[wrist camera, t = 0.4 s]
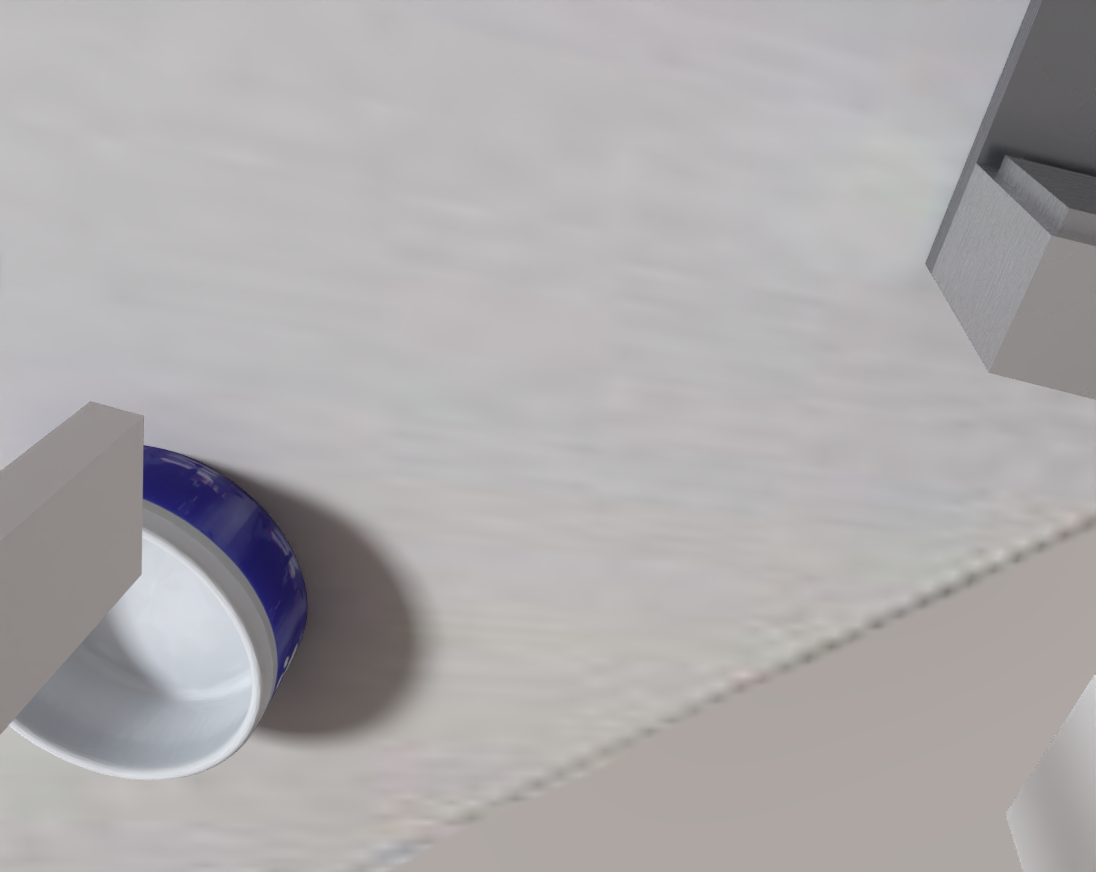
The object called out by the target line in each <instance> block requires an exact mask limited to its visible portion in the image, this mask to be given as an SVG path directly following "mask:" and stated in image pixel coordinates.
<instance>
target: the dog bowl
mask: <svg viewBox="0 0 1096 872" xmlns="http://www.w3.org/2000/svg"><path fill="white" fill-rule="evenodd" d="M306 618H307V597H306V589H305V584H304V580H303V576H302V573H301V570H300V567H299V564H298V562H297V559H296V557H295V555H294V552H293V550H292V548H291V547H290V545H289V543H288V541H287V540H286V538H285V536H284V535H283V533H282V532H281V530H280V529H279V527H278V526H277V525H276V523H275V522H274V521H273V520H272V518H271V517H270V516H269V514H268V513H267V512H266V511H265V510H264V509H263V508H262V507H261V506H260V505H259V504H258V503H257V502H256V501H255V500H254V499H253V498H252V497H251V496H250V495H249V494H247V493H246V492H245V491H244V490H243V489H241V488H240V487H239V486H238V485H236V484H235V483H234V482H232V481H231V480H229V479H228V478H226V477H225V476H223V475H222V474H220V473H219V472H217V471H215V470H214V469H212V468H210V467H208V466H206V465H204V464H202V463H200V462H198V461H196V460H193V459H191V458H188V457H186V456H183V455H181V454H178V453H174V452H171V451H168V450H164V449H160V448H155V447H150V446H144V445H143V508H142V575H141V576H140V577H139V578H138V579H137V580H136V581H135V582H134V584H133V585H132V586H131V587H130V588H129V589H128V590H127V592H126V593H125V594H124V595H123V596H122V597H121V598H120V600H119V601H118V602H117V603H116V604H115V605H114V606H113V607H112V609H111V610H110V611H109V612H108V613H107V614H106V615H105V617H104V618H103V619H102V620H101V621H100V622H99V623H98V624H97V626H96V627H95V628H94V629H93V630H92V631H91V632H90V634H89V635H88V636H87V637H86V638H85V639H84V640H83V641H82V643H81V644H80V645H79V646H78V647H77V648H76V649H75V651H74V652H73V653H72V654H71V655H70V656H69V657H68V658H67V660H66V661H65V662H64V663H63V664H62V665H61V666H60V668H59V669H58V670H57V671H56V672H55V673H54V674H53V675H52V677H51V678H50V679H49V680H48V681H47V682H46V683H45V685H44V686H43V687H42V688H41V689H40V690H39V691H38V692H37V694H36V695H35V696H34V697H33V698H32V699H31V700H30V702H29V703H28V704H27V705H26V706H25V707H24V708H23V709H22V711H21V712H20V713H19V714H18V715H17V716H16V717H15V719H14V720H13V721H12V722H11V723H10V724H9V726H10V727H11V728H12V729H14V730H15V731H16V732H18V733H19V734H20V735H22V736H23V737H24V738H26V739H27V740H29V741H31V742H32V743H34V744H35V745H37V746H38V747H40V748H42V749H44V750H45V751H47V752H49V753H51V754H53V755H54V756H57V757H59V758H61V759H63V760H65V761H68V762H70V763H72V764H75V765H77V766H80V767H82V768H85V769H88V770H91V771H94V772H97V773H102V774H106V775H110V776H114V777H119V778H125V779H134V780H166V779H174V778H181V777H186V776H190V775H194V774H197V773H200V772H203V771H205V770H208V769H210V768H212V767H214V766H216V765H218V764H220V763H222V762H223V761H225V760H226V759H228V758H229V757H230V756H232V755H233V754H234V753H235V752H237V751H238V750H239V749H240V748H241V747H242V746H243V744H244V743H245V742H246V741H247V740H248V738H249V737H250V736H251V734H252V733H253V731H254V729H255V728H256V726H257V725H258V723H259V721H260V720H261V718H262V716H263V714H264V712H265V710H266V708H267V706H268V704H269V703H270V701H271V699H272V697H273V695H274V693H275V692H276V690H277V688H278V686H279V684H280V682H281V681H282V679H283V677H284V675H285V673H286V670H287V668H288V667H289V665H290V663H291V661H292V659H293V657H294V655H295V653H296V651H297V649H298V647H299V644H300V642H301V639H302V636H303V633H304V629H305V625H306Z"/></svg>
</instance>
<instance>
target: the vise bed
mask: <svg viewBox="0 0 1096 872" xmlns="http://www.w3.org/2000/svg"><path fill="white" fill-rule="evenodd" d="M1005 155H1007V156H1011V157H1015V158H1019V159H1023V160H1028V161H1032V162H1036V163H1040V164H1044V165H1048V166H1052V167H1057V168H1061V169H1065V170H1069V171H1073V172H1077V173H1082V174H1086V175H1090V176H1094V177H1096V0H1031V2H1030V4H1029V7H1028V9H1027V12H1026V14H1025V17H1024V19H1023V22H1022V24H1021V27H1020V29H1019V32H1018V34H1017V37H1016V39H1015V42H1014V44H1013V47H1012V49H1011V52H1010V54H1009V57H1008V59H1007V62H1006V64H1005V67H1004V69H1003V72H1002V74H1001V77H1000V79H999V82H998V84H997V87H996V89H995V92H994V94H993V97H992V99H991V102H990V104H989V107H988V109H987V112H986V114H985V116H984V119H983V121H982V124H981V126H980V129H979V131H978V134H977V136H976V139H975V141H974V144H973V146H972V149H971V151H970V154H969V156H968V159H967V161H966V164H965V166H964V169H963V171H962V174H961V176H960V179H959V181H958V184H957V186H956V189H955V191H954V194H953V196H952V199H951V201H950V204H949V206H948V209H947V211H946V214H945V216H944V219H943V221H942V224H941V226H940V229H939V231H938V234H937V236H936V239H935V241H934V244H933V246H932V249H931V251H930V254H929V256H928V259H927V261H926V266H927V268H928V269H929V271H930V273H932V271H933V268H934V266H935V263H936V261H937V258H938V256H939V253H940V251H941V249H942V246H943V244H944V241H945V239H946V236H947V234H948V231H949V229H950V226H951V224H952V221H953V219H954V216H955V214H956V212H957V209H958V207H959V204H960V202H961V199H962V197H963V194H964V192H965V189H966V187H967V184H968V182H969V180H970V177H971V175H972V172H973V170H974V167H975V165H976V163H977V164H981V165H986V166H990V167H994V168H998V169H1000V167H1001V164H1002V162H1003V159H1004V157H1005Z"/></svg>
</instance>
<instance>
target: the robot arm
mask: <svg viewBox="0 0 1096 872" xmlns="http://www.w3.org/2000/svg"><path fill="white" fill-rule="evenodd" d="M143 438H144V416H142V415H138V414H135V413H131V412H127V411H124V410H120V409H116V408H113V407H109V406H105V405H102V404H98V403H94V402H89V403H88V404H87V405H85V406H84V407H83V408H82V409H80V410H79V411H78V412H76V413H75V414H74V415H73V416H71V417H70V418H69V419H67V420H66V421H65V422H63V423H62V424H61V425H60V426H58V427H57V428H56V429H54V430H53V431H52V432H51V433H49V434H48V435H47V436H45V437H44V438H43V439H41V440H40V441H39V442H38V443H36V444H35V445H34V446H32V447H31V448H30V449H29V450H27V451H26V452H25V453H23V454H22V455H21V456H20V457H18V458H17V459H16V460H14V461H13V462H12V463H10V464H9V465H8V466H7V467H5V468H4V469H3V470H1V471H0V734H1V733H2V732H3V731H4V730H5V729H6V728H7V727H8V725H9V724H10V723H11V722H12V721H13V720H14V719H15V717H16V716H17V715H18V714H19V713H20V712H21V711H22V709H23V708H24V707H25V706H26V705H27V704H28V703H29V702H30V700H31V699H32V698H33V697H34V696H35V695H36V694H37V692H38V691H39V690H40V689H41V688H42V687H43V686H44V685H45V683H46V682H47V681H48V680H49V679H50V678H51V677H52V675H53V674H54V673H55V672H56V671H57V670H58V669H59V668H60V666H61V665H62V664H63V663H64V662H65V661H66V660H67V658H68V657H69V656H70V655H71V654H72V653H73V652H74V651H75V649H76V648H77V647H78V646H79V645H80V644H81V643H82V641H83V640H84V639H85V638H86V637H87V636H88V635H89V634H90V632H91V631H92V630H93V629H94V628H95V627H96V626H97V624H98V623H99V622H100V621H101V620H102V619H103V618H104V617H105V615H106V614H107V613H108V612H109V611H110V610H111V609H112V607H113V606H114V605H115V604H116V603H117V602H118V601H119V600H120V598H121V597H122V596H123V595H124V594H125V593H126V592H127V590H128V589H129V588H130V587H131V586H132V585H133V584H134V582H135V581H136V580H137V579H138V578H139V577H140V576H141V575H142V508H143ZM1006 817H1007V820H1008V824H1009V827H1010V831H1011V834H1012V837H1013V841H1014V844H1015V847H1016V851H1017V854H1018V857H1019V860H1020V864H1021V867H1022V871H1023V872H1096V674H1095V675H1094V676H1093V678H1092V679H1091V681H1090V683H1089V684H1088V686H1087V687H1086V689H1085V691H1084V692H1083V694H1082V695H1081V697H1080V698H1079V700H1078V701H1077V703H1076V704H1075V706H1074V708H1073V709H1072V711H1071V712H1070V714H1069V715H1068V717H1067V719H1066V720H1065V722H1064V723H1063V725H1062V727H1061V728H1060V730H1059V731H1058V733H1057V734H1056V736H1055V737H1054V739H1053V741H1052V742H1051V744H1050V745H1049V747H1048V748H1047V750H1046V752H1045V753H1044V755H1043V756H1042V758H1041V759H1040V761H1039V762H1038V764H1037V766H1036V767H1035V769H1034V770H1033V772H1032V773H1031V775H1030V777H1029V778H1028V780H1027V781H1026V783H1025V785H1024V786H1023V788H1022V789H1021V791H1020V792H1019V794H1018V795H1017V797H1016V799H1015V800H1014V802H1013V803H1012V805H1011V806H1010V808H1009V810H1008V811H1007V813H1006Z"/></svg>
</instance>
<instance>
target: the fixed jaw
mask: <svg viewBox="0 0 1096 872" xmlns="http://www.w3.org/2000/svg"><path fill="white" fill-rule="evenodd" d="M931 274H932V276H933V278H934V280H935V281H936V283H937V285H938V286H939V288H940V290H941V292H942V293H943V295H944V297H945V298H946V300H947V302H948V304H949V305H950V307H951V309H952V310H953V312H954V314H955V316H956V317H957V319H958V321H959V322H960V324H961V326H962V328H963V329H964V331H965V333H966V334H967V336H968V338H969V340H970V341H971V343H972V345H973V346H974V348H975V350H976V351H977V353H978V355H979V357H980V358H981V360H982V362H983V363H984V365H985V367H986V369H987V370H988V372H989V373H992V374H996V375H1000V376H1004V377H1008V378H1012V379H1016V380H1020V381H1024V382H1028V383H1032V384H1036V385H1040V386H1044V387H1048V388H1052V389H1056V390H1060V391H1064V392H1068V393H1072V394H1076V395H1080V396H1084V397H1088V398H1092V399H1096V177H1094V176H1090V175H1086V174H1082V173H1077V172H1073V171H1069V170H1065V169H1061V168H1057V167H1052V166H1048V165H1044V164H1040V163H1036V162H1032V161H1028V160H1023V159H1019V158H1015V157H1011V156H1007V155H1005V157H1004V159H1003V162H1002V164H1001V167H1000V169H998V168H994V167H990V166H986V165H981V164H977V163H976V165H975V167H974V170H973V172H972V175H971V177H970V180H969V182H968V184H967V187H966V189H965V192H964V194H963V197H962V199H961V202H960V204H959V207H958V209H957V212H956V214H955V216H954V219H953V221H952V224H951V226H950V229H949V231H948V234H947V236H946V239H945V241H944V244H943V246H942V249H941V251H940V253H939V256H938V258H937V261H936V263H935V266H934V268H933V271H932V273H931Z"/></svg>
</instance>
